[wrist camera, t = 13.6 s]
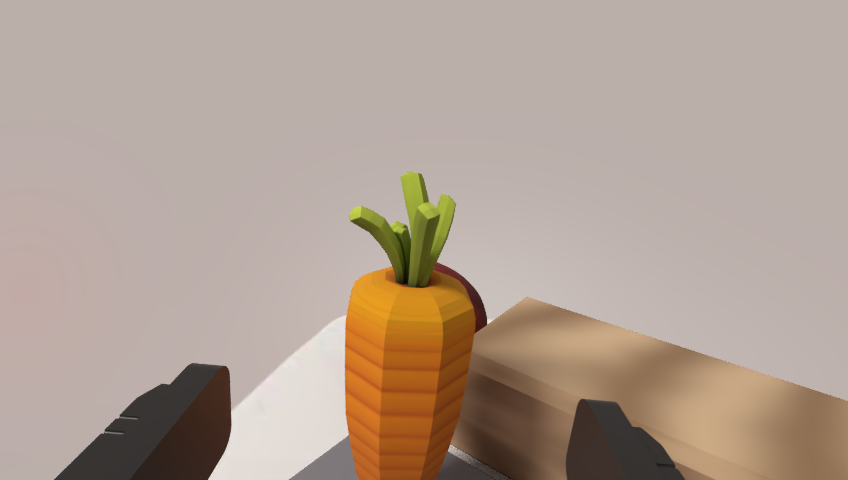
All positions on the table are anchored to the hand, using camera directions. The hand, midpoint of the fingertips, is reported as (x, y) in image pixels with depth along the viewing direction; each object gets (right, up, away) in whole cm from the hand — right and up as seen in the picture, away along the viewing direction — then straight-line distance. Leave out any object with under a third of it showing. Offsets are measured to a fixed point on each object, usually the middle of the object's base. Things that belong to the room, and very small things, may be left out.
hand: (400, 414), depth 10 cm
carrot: (-1, -8, +9) cm, 13 cm away
